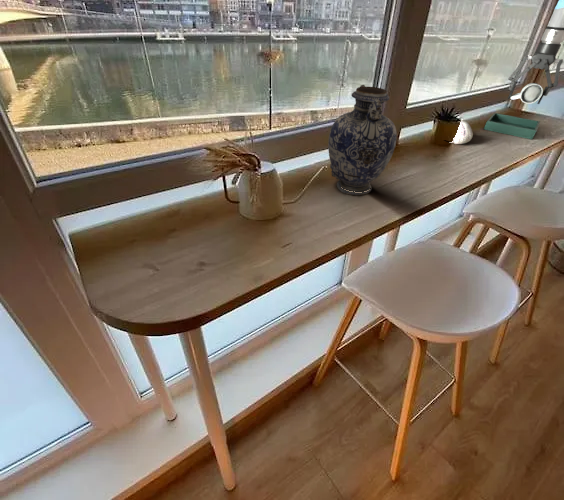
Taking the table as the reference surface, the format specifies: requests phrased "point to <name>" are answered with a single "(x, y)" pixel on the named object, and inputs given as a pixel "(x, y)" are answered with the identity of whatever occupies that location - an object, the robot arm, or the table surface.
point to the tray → (512, 125)
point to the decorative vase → (361, 142)
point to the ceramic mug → (529, 93)
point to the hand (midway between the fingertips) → (523, 100)
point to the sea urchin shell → (463, 133)
